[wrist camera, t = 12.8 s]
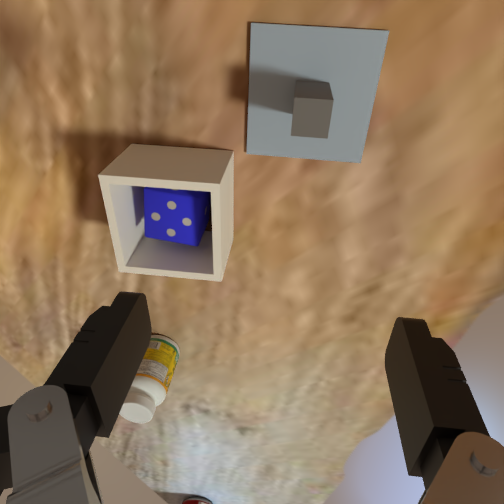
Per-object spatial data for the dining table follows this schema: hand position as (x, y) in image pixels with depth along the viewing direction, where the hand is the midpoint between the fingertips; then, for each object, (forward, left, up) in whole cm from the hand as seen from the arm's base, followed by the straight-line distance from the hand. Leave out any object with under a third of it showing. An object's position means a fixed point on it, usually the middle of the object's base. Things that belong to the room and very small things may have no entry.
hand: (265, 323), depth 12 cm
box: (+8, -9, -24) cm, 27 cm away
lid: (-2, +2, -25) cm, 25 cm away
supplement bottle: (+31, -14, -24) cm, 42 cm away
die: (+8, -9, -24) cm, 27 cm away
